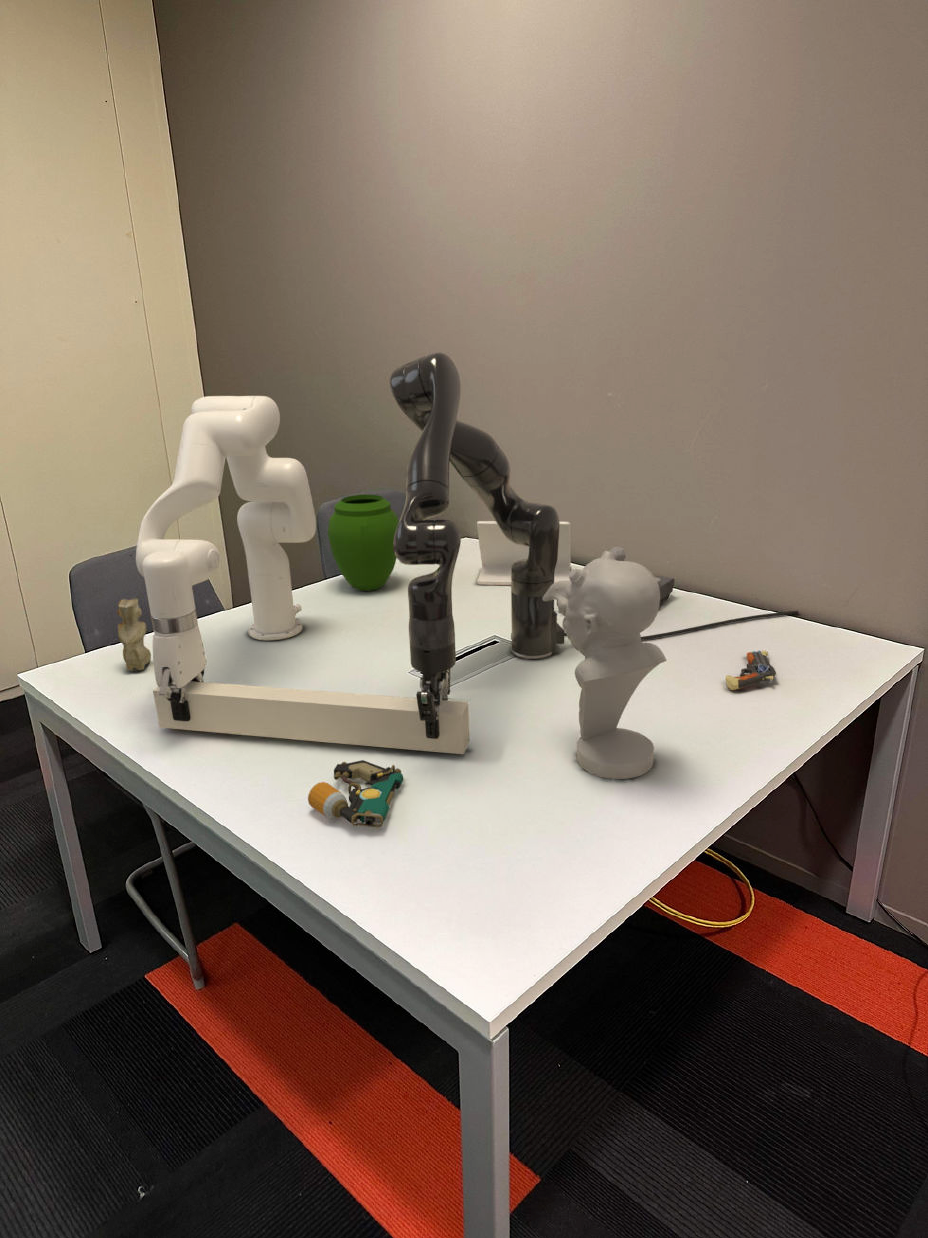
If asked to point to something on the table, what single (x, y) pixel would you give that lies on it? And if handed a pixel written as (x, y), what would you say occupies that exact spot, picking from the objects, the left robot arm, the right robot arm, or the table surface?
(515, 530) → the right robot arm
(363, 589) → the vase
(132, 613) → the sculpture
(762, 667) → the toy gun
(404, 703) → the bar
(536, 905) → the table surface
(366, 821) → the spray gun
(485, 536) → the tablet stand
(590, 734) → the bust sculpture
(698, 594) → the table surface
